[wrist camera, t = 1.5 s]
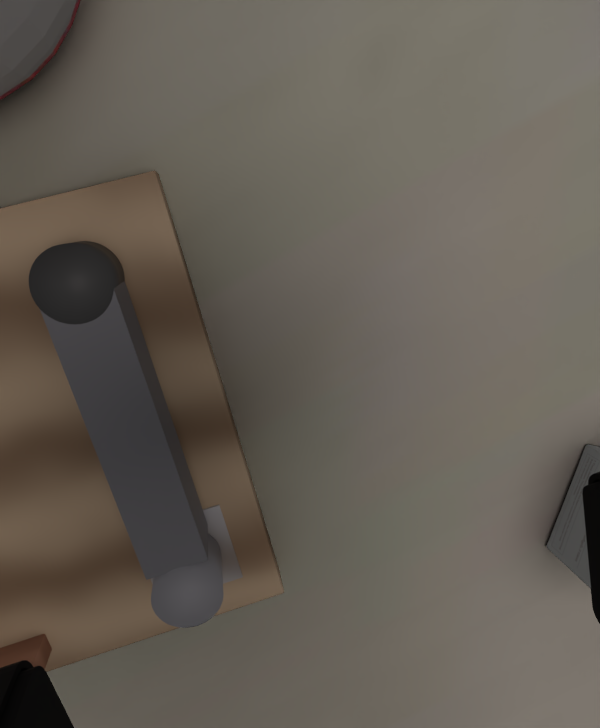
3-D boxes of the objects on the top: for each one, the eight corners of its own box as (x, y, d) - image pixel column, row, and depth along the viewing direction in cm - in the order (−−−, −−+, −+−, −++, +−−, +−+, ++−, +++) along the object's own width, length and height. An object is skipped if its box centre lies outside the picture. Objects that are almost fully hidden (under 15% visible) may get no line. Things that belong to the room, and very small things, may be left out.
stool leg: (228, 573, 28) (231, 614, 25) (167, 593, 28) (163, 636, 25) (113, 232, 23) (100, 233, 20) (37, 252, 22) (12, 256, 20)
